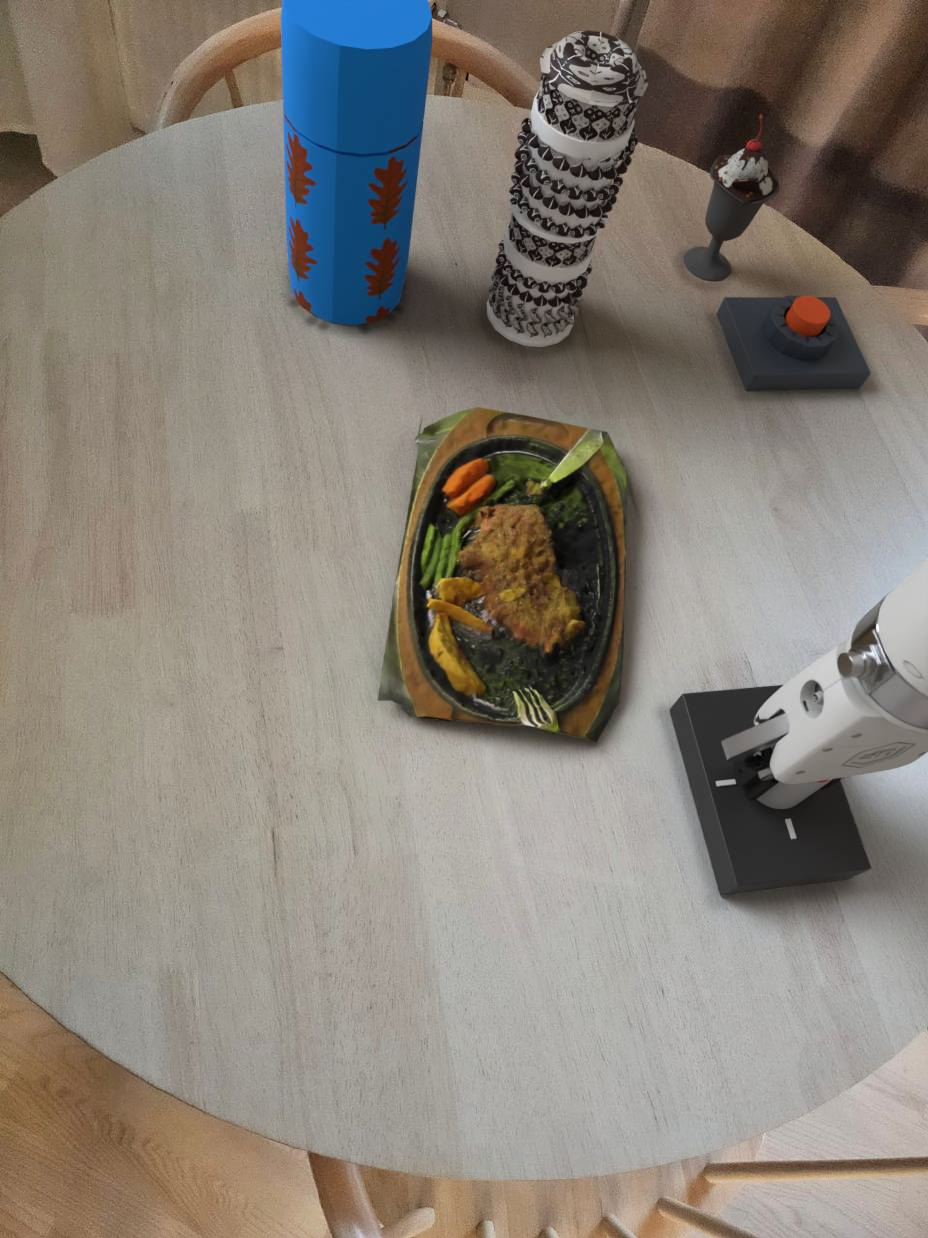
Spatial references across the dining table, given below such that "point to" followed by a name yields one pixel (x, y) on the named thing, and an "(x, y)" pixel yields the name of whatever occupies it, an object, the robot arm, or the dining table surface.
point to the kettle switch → (808, 316)
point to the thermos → (352, 149)
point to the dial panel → (759, 806)
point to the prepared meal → (511, 576)
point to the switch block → (789, 347)
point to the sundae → (732, 205)
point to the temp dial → (789, 793)
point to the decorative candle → (564, 184)
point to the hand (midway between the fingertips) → (780, 773)
